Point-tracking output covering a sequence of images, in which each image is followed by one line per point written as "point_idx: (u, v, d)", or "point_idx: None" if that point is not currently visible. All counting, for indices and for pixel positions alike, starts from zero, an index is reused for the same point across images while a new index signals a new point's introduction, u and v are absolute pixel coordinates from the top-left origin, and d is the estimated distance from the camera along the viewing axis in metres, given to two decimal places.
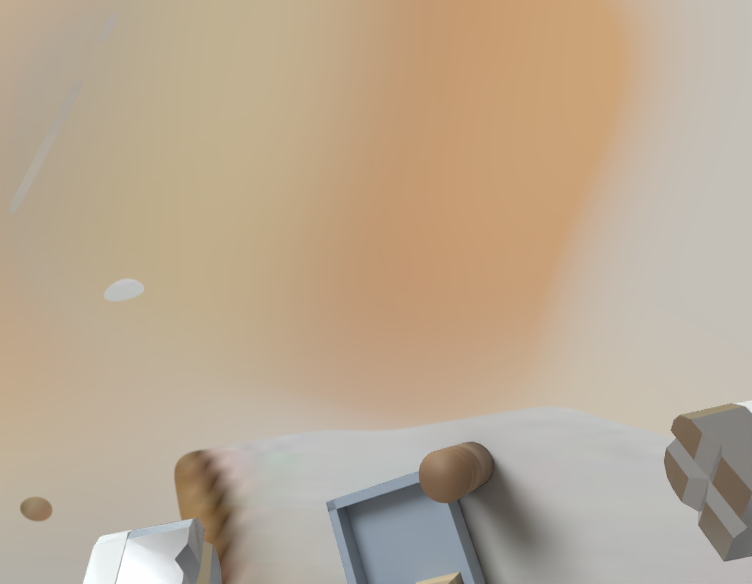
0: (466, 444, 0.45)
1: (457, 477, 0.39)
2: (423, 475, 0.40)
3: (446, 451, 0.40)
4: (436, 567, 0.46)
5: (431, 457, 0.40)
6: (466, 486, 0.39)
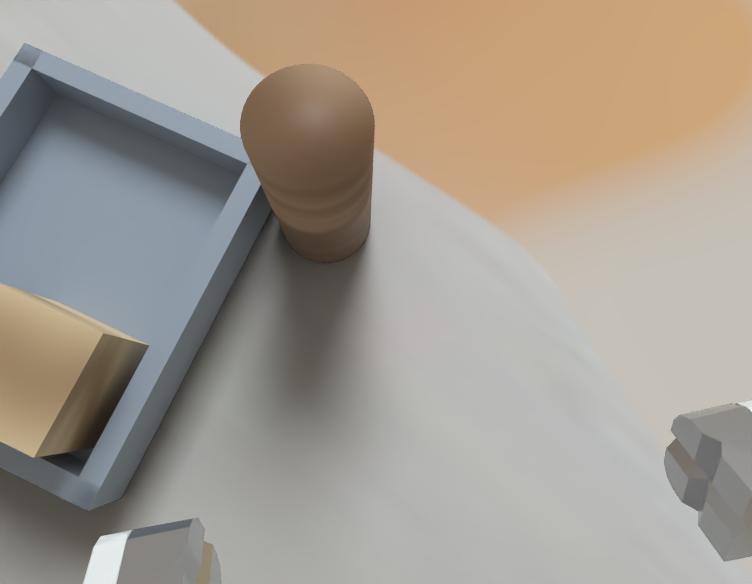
0: None
1: (334, 150, 0.15)
2: (269, 90, 0.15)
3: (360, 90, 0.15)
4: (116, 308, 0.21)
5: (319, 74, 0.15)
6: (336, 181, 0.15)
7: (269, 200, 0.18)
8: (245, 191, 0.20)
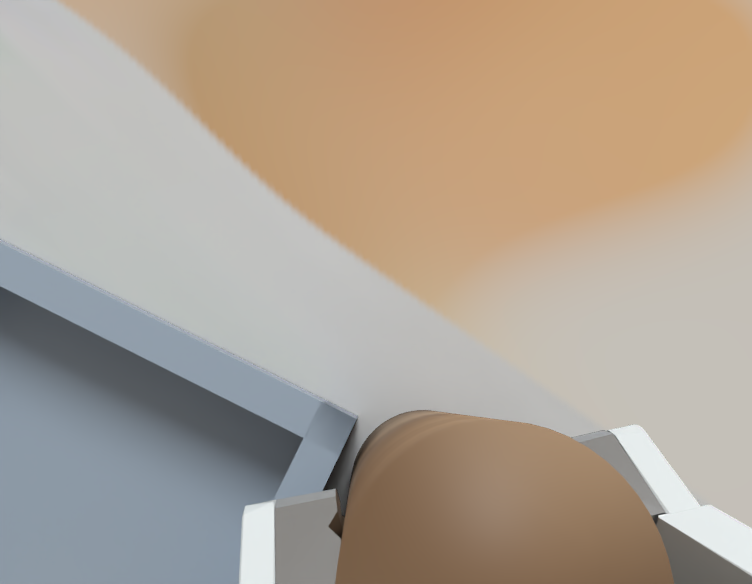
0: None
1: None
2: (407, 495, 0.06)
3: (631, 495, 0.06)
4: None
5: (529, 452, 0.06)
6: None
7: None
8: (300, 493, 0.11)
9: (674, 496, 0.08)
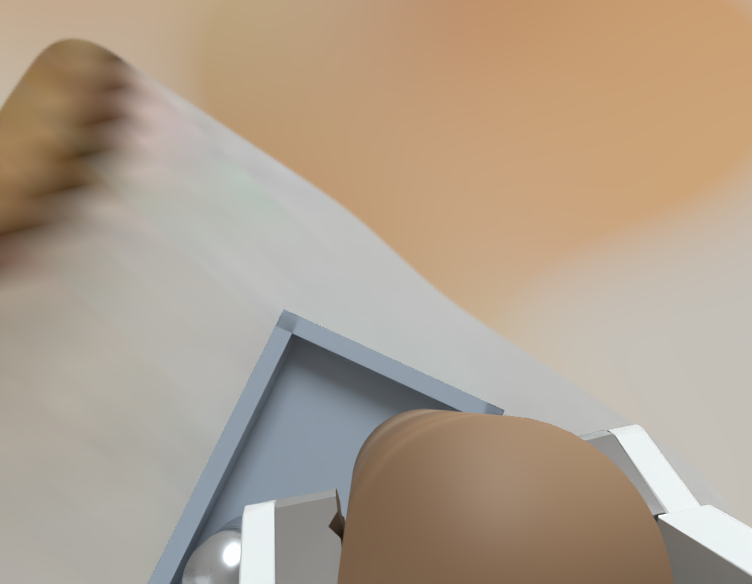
0: None
1: None
2: (409, 489, 0.06)
3: (629, 489, 0.06)
4: None
5: (529, 446, 0.06)
6: None
7: None
8: None
9: (674, 496, 0.08)
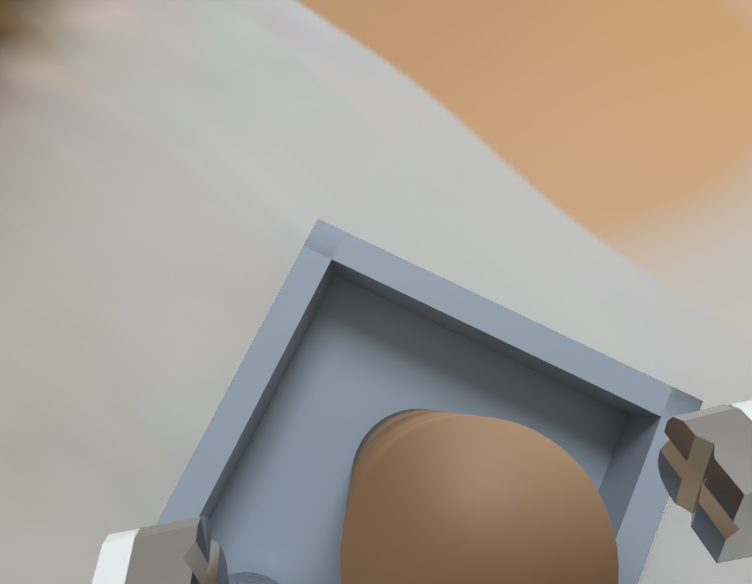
0: None
1: None
2: (399, 477, 0.07)
3: (582, 477, 0.08)
4: None
5: (499, 441, 0.08)
6: None
7: None
8: None
9: None
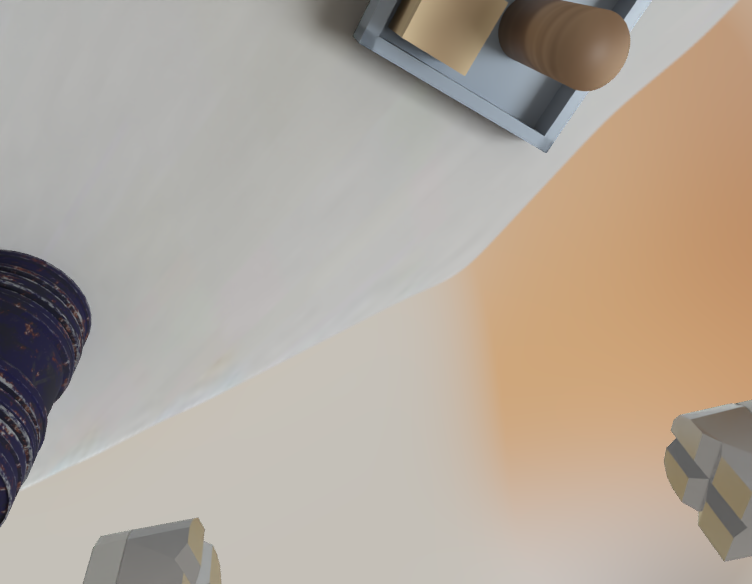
0: None
1: (575, 67, 0.27)
2: (619, 28, 0.26)
3: (604, 83, 0.27)
4: None
5: (620, 59, 0.27)
6: (557, 67, 0.27)
7: (553, 9, 0.28)
8: (528, 135, 0.35)
9: None
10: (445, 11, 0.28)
